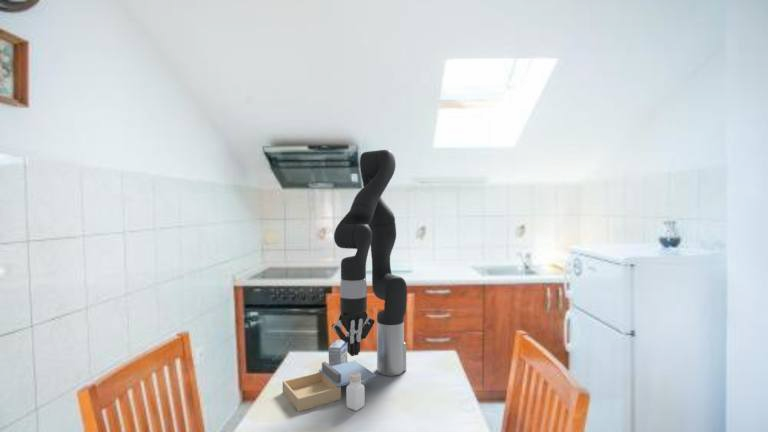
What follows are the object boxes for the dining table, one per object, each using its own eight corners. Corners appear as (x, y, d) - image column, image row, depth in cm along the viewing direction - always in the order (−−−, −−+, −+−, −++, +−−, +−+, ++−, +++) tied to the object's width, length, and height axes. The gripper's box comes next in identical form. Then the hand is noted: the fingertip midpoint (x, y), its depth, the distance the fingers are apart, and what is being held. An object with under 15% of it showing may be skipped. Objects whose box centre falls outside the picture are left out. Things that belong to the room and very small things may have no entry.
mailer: (322, 382, 133) (322, 371, 133) (341, 398, 122) (340, 387, 122) (282, 392, 126) (282, 381, 126) (298, 411, 115) (298, 399, 115)
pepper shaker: (354, 402, 120) (354, 370, 120) (365, 406, 118) (365, 373, 118) (345, 407, 117) (345, 375, 117) (356, 412, 115) (356, 378, 114)
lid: (354, 362, 140) (354, 353, 139) (375, 376, 128) (375, 366, 128) (318, 371, 132) (318, 361, 132) (337, 387, 121) (337, 376, 121)
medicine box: (341, 373, 140) (340, 348, 140) (328, 372, 141) (328, 347, 141) (347, 363, 148) (347, 340, 148) (335, 362, 149) (335, 339, 148)
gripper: (367, 289, 123) (367, 346, 124) (326, 294, 116) (326, 355, 117) (380, 294, 117) (380, 354, 117) (337, 300, 109) (337, 364, 110)
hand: (353, 354), depth 117 cm, fingers closed
